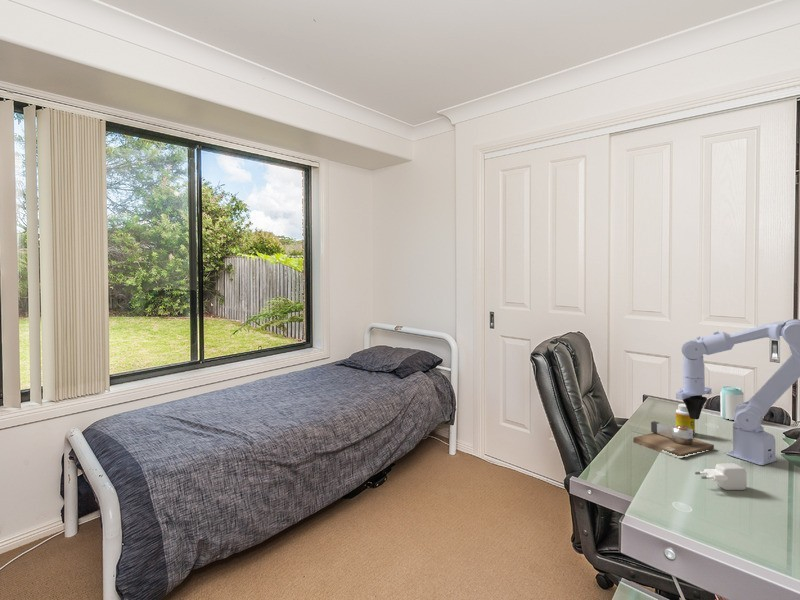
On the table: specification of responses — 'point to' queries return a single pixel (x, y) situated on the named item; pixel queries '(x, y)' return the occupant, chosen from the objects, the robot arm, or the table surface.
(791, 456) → the table surface
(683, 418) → the supplement bottle
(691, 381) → the robot arm
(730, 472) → the power adapter
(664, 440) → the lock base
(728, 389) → the can
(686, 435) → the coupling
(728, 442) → the table surface
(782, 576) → the table surface
